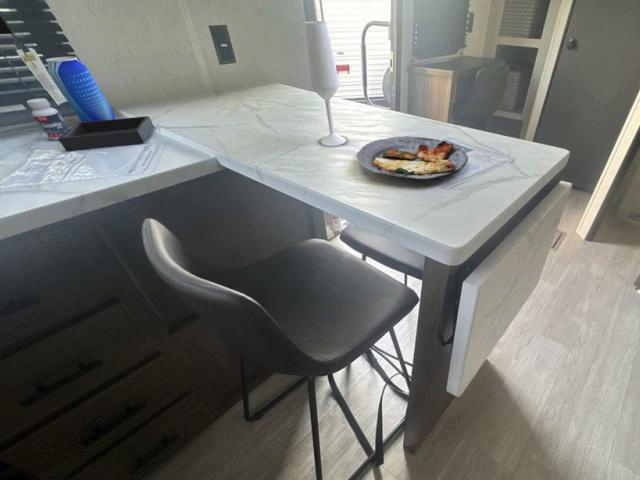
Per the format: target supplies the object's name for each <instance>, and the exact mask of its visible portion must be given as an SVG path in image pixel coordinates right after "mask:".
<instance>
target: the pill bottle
mask: <svg viewBox="0 0 640 480" xmlns="http://www.w3.org/2000/svg"><path fill="white" fill-rule="evenodd" d="M26 103H27V105H28V106H29V107H30V109H32V111H31V115H32V116H33V118H34V119H35V120H36V122H37V123H38V125H39V126H40V128H42V130H43V131H44V132H45V134H46V135H47V137H48V138H49V139H50V140H54V141H59V140H58V138H59V137H60V136H62V135H63V134H64V133H65V132H67V131H68V130H69V129H70V128H71V127H69V125H68V123H66V121H65V120H64V118H63V116H62V115H61V114H60V112H59V111H58V110H57V109H56V108H55V107H51V104H50V101H48V99H47V98H44V97H41V98H40V97H39V98H33V99H32V98H31V99H28V100H26Z"/></svg>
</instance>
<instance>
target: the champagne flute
mask: <svg viewBox="0 0 640 480" xmlns="http://www.w3.org/2000/svg"><path fill="white" fill-rule="evenodd" d="M304 28H305V40H306V51H307V60H308V71H309V80H310V81H309V82H310V86H311V88H312V89H313V91H314V92H315V94H317V95H318V96H319V97H320V98H321V99H323V100H324V102H325V109H326V116H327V122H328V129H329V134H328V135H326V136H325V137H324V138H323V139H321V141H320V143H321V145H323V146H326V147H327V146H328V147H335V146H336V147H337V146H340V145H343V144H345V143H346V142H347V140H346V138H345V137H342V136H340V135H338V134H336V133H335V127H334V121H333V119H334V118H333V112H332V107H331V99H332V98H333V97H335V95H336V93H337V91H338V89H339V86H340V81H339V75H338V70H337V66H336V60H335V55H334V50H333V45H332V40H331V34H330V29H329V24H328V21H324V20H316V21H313V20H312V21H305V22H304Z"/></svg>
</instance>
